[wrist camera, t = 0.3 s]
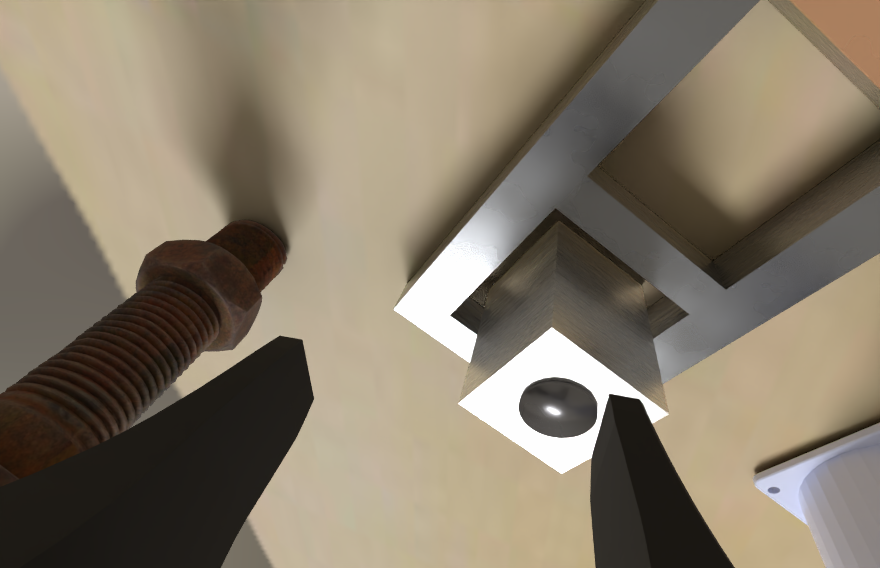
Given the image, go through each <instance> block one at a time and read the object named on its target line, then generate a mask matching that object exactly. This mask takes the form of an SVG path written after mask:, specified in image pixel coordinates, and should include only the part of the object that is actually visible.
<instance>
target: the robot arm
mask: <svg viewBox="0 0 880 568" xmlns="http://www.w3.org/2000/svg"><path fill="white" fill-rule="evenodd" d="M313 400H314V396H313V391H312V386H311V381H310V376H309V371H308V366H307V361H306V356H305V351H304V346H303V341H302V340H301V339H295V338H289V337H284V336H279V337H277V338H275V339H274V340H272V341H271V342H269V343H267V344H266V345H264V346H263V347H261V348H260V349H258V350H257V351H255V352H254V353H252V354H251V355H249V356H248V357H246V358H245V359H243V360H242V361H240V362H239V363H237V364H236V365H234V366H233V367H231V368H230V369H228V370H226V371H225V372H223V373H222V374H220V375H219V376H217V377H216V378H214V379H213V380H211V381H209V382H208V383H206V384H205V385H203V386H202V387H200V388H199V389H197V390H195V391H194V392H192V393H190V394H189V395H187V396H185V397H184V398H182V399H180V400H179V401H177V402H175V403H174V404H172V405H170V406H169V407H167V408H165V409H164V410H162V411H160V412H158V413H157V414H155V415H154V416H152V417H150V418H148V419H146V420H145V421H143V422H141V423H139V424H137V425H135V426H133V427H132V428H130V429H128V430H126V431H124V432H122V433H120V434H118V435H116V436H114V437H112V438H110V439H108V440H106V441H104V442H102V443H100V444H98V445H96V446H94V447H92V448H90V449H87V450H85V451H83V452H81V453H79V454H76V455H74V456H72V457H70V458H67V459H65V460H63V461H61V462H58V463H56V464H54V465H52V466H50V467H47V468H45V469H43V470H41V471H38V472H36V473H33V474H31V475H29V476H26V477H24V478H21V479H19V480H16V481H14V482H11V483H9V484H6V485H4V486H1V487H0V568H221V566H222V564H223V562H224V560H225V558H226V556H227V554H228V552H229V550H230V548H231V546H232V544H233V542H234V540H235V538H236V536H237V534H238V533H239V531H240V529H241V527H242V526H243V524H244V522H245V520H246V519H247V517H248V515H249V514H250V512H251V510H252V509H253V507H254V506H255V504H256V502H257V501H258V499H259V498H260V496H261V494H262V493H263V491H264V490H265V488H266V486H267V485H268V483H269V481H270V480H271V478H272V477H273V475H274V473H275V472H276V470H277V469H278V467H279V465H280V464H281V462H282V460H283V459H284V457H285V456H286V454H287V452H288V451H289V449H290V447H291V446H292V444H293V442H294V441H295V439H296V437H297V435H298V433H299V431H300V429H301V427H302V425H303V423H304V421H305V418H306V416H307V414H308V411H309V409H310V407H311V405H312V402H313ZM753 482H754V484H755V486H756V488H758V489H759V490H760V491H762V492H763V493H764V494H766V495H767V496H768V497H770V498H771V499H773V500H774V501H775V502H777V503H778V504H779V505H781V506H782V507H783V508H785V509H786V510H788V511H789V512H790V513H792V514H793V515H794V516H796V517H797V518H798V519H800V520H801V521H802V522H804V523H805V524H807V525H808V526H809V529H810V531H811V533H812V536H813V538H814V541H815V543H816V545H817V548H818V550H819V553H820V555H821V557H822V560H823V562H824V565H825V567H826V568H880V423H877V424H875V425H873V426H870V427H868V428H865V429H863V430H861V431H858V432H856V433H853V434H851V435H849V436H846V437H844V438H841V439H839V440H837V441H834V442H832V443H829V444H827V445H825V446H822V447H820V448H817V449H815V450H813V451H810V452H808V453H805V454H803V455H800V456H798V457H796V458H793V459H791V460H788V461H786V462H784V463H781V464H779V465H776V466H774V467H772V468H769V469H767V470H764V471H762V472H760V473H757V474H756V475H754V477H753ZM590 503H591V516H592V529H593V541H594V553H595V565H596V568H735V567H734V566H733V565H732V563H731V562H730V560H729V558H728V557H727V555H726V554H725V552H724V551H723V549H722V548H721V546H720V545H719V543H718V542H717V540H716V538H715V537H714V535H713V534H712V532H711V530H710V529H709V527H708V526H707V524H706V522H705V521H704V519H703V517H702V516H701V514H700V512H699V511H698V509H697V507H696V506H695V504H694V502H693V501H692V499H691V497H690V495H689V493H688V492H687V490H686V488H685V486H684V485H683V483H682V481H681V479H680V477H679V476H678V474H677V472H676V470H675V468H674V466H673V465H672V463H671V461H670V459H669V457H668V455H667V453H666V451H665V449H664V447H663V445H662V443H661V441H660V439H659V437H658V435H657V433H656V431H655V429H654V427H653V425H652V422H651V420H650V418H649V416H648V414H647V411H646V409H645V407H644V404H643V403H642V402H641V400H640V399H638V398H632V397H626V396H621V395H615V394H609V396H608V400H607V403H606V406H605V410H604V413H603V417H602V420H601V424H600V427H599V431H598V434H597V438H596V441H595V445H594V448H593V452H592V460H591V493H590Z"/></svg>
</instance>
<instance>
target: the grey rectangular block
mask: <svg viewBox="0 0 880 568" xmlns="http://www.w3.org/2000/svg"><path fill="white" fill-rule="evenodd" d="M609 394H615V395H621V396H626V397H632V398H638V399H640V400H641V402H642V403H643V404H644V407H645V409H646V411H647V414H648V416H649V418H650V420H651V422H652V423H654V422H656V421H658V420H659V419H661V418H663V417H665V416H667V415H668V414H669V412H668V407H667V403H666V398H665V393H664V388H663V384H662V379H661V374H660V369H659V364H658V360H657V355H656V350H655V345H654V341H653V336H652V331H651V326H650V322H649V317H648V312H647V307H646V302H645V298H644V293H643V288H642V285H641V284H640V283H638V282H637V281H636V280H635V279H633V278H632V277H631V276H630V275H628V274H627V273H626V272H624V271H623V270H622V269H621V268H619V267H618V266H617V265H616V264H614V263H613V262H612V261H611V260H609V259H608V258H607V257H605V256H604V255H603V254H602V253H600V252H599V251H598V250H597V249H595V248H594V247H593V246H592V245H590V244H589V243H588V242H586V241H585V240H584V239H583V238H581V237H580V236H579V235H578V234H576V233H575V232H574V231H573V230H571V229H570V228H569V227H567V226H566V225H565V224H564V223H562V222H561V221H560V220H558V221H557V222H556V223H555V224H554V225H553V226H552V227H551V228H550V229H549V230H548V231H547V232H546V233H545V234H544V235H543V236H542V237H541V238H540V239H539V240H538V241H537V242H536V243H535V244H534V245H533V246H532V247H531V248H530V249H529V250H528V251H527V252H526V253H525V254H524V255H523V256H522V257H521V258H520V259H519V260H518V261H517V262H516V263H515V264H514V265H513V266H512V267H511V268H510V269H509V270H508V271H507V272H506V273H505V274H504V275H503V276H502V277H501V278H500V279H498V280H497V281H496V282H495V283H494V284H493V285H492V286H491V287H490V288H489V292H488V296H487V300H486V303H485V307H484V311H483V315H482V318H481V322H480V326H479V330H478V333H477V337H476V341H475V345H474V348H473V352H472V356H471V360H470V363H469V367H468V371H467V375H466V378H465V382H464V386H463V390H462V393H461V397H460V401H459V404H460V405H462V406H463V407H465V408H466V409H467V410H469V411H470V412H472V413H473V414H475V415H476V416H478V417H479V418H481V419H482V420H484V421H485V422H487V423H488V424H490V425H491V426H493V427H494V428H495V429H497V430H498V431H500V432H501V433H503V434H504V435H506V436H507V437H509V438H510V439H512V440H513V441H515V442H516V443H518V444H519V445H521V446H522V447H523V448H525V449H526V450H528V451H529V452H531V453H532V454H534V455H535V456H537V457H538V458H540V459H541V460H543V461H544V462H546V463H547V464H548V465H550V466H551V467H553V468H554V469H556V470H557V471H559V472H560V473H564V472H565V471H567V470H569V469H571V468H573V467H574V466H576V465H578V464H580V463H582V462H584V461H585V460H587V459H589V458H591V457H592V452H593V448H594V445H595V441H596V438H597V434H598V431H599V427H600V424H601V420H602V417H603V413H604V410H605V406H606V403H607V400H608V396H609Z"/></svg>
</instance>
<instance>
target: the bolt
mask: <svg viewBox="0 0 880 568" xmlns="http://www.w3.org/2000/svg"><path fill="white" fill-rule="evenodd" d="M286 260H287V257H286V250H285V247H284V245H283V243H282V242H281V240H280V239H279V238H278V237H277V236H276V235H275V234H274V233H273V232H271V231H270V230H269V229H268V228H266V227H265V226H263V225H261V224H259V223H257V222H254V221H249V220H239V221H234V222H231V223H230V224H228V225H227V226H225V227H224V228H223V229H221V231H219V232H218V233H216V234H215V235H214V236H212V237H211V238H210V239H208V240H207V241H200V240H176V241H166V242H164V243H163V244H161V245H160V246H158V247H157V248H155V249H154V250H152V251H151V252H149V253H148V254H146V256H145V258H144V261H143V263H142V265H141V267H140V270H139V273H138V276H137V279H136V291H137V293H135V294H134V295H133V296H131V298H129V299H127V300H126V301H125V302H124V303H123V304H121V305H119V306H118V307H117V309H114V310H113V311H112V312H110V313H109V314H108V315H107V316H105V317H103V318H102V319H101V321H98V322H96V323H95V324H94V325H93V327H91V328H89V329H87V330H86V331H85V332H84V333H83V334H81V335H80V336H78V337H77V338H76V340H75V341H73V342H72V343H70V344H69V345H68V346H66V347H65V348H64V349H63V350H61V351H60V352H59V353H58V354H56V355H54V356H53V357H51V358H49V359H48V360H47V361H45V362H44V363H42V364H40V365H39V366H38V367H37V368H35V369H33V370H32V371H30V372H29V373H28V374H27V375H26V376H24V377H23V378H22V379H20V380H19V381H18V382H17V383H16V384H14V385H12V386H11V387H9V388H7V389H6V391H5V392H3V393H1V394H0V487H1V486H4V485H6V484H9V483H11V482H14V481H16V480H19V479H21V478H24V477H26V476H29V475H31V474H33V473H36V472H38V471H41V470H43V469H45V468H47V467H50V466H52V465H54V464H56V463H58V462H61V461H63V460H65V459H67V458H70V457H72V456H74V455H76V454H79V453H81V452H83V451H85V450H87V449H90V448H92V447H94V446H96V445H98V444H100V443H102V442H104V441H106V440H108V439H110V438H112V437H114V436H116V435H118V434H120V433H122V432H124V431H126V430H128V429H129V428H130V427H131V426H132V425H133V424H134V422H135V421H136V420H138V419H139V418H140V417H141V414H142V413H144V412H145V411H147V410H148V407H149V406H151V405H152V404H153V403H154V402H155V400H156V399H157V398H158V397H160V396H161V395H162V394H163V392H164V391H165V390H167V389H168V388H169V387H170V384H172V383H174V382H175V381H176V379H177V377H179V376H181V375H182V373H183V371H184V370H186V369H188V367H189V365H190V364H192V363H193V362H194V361H195V359H196V358H198V357H199V356H200V354H201V353H202V352H204V351H225V350H233V349H234V348H235V347H236V346H237V345H238V344H239V343H240V341H241V340H242V339H243V338H244V337H245V336H246V335H247V334H248V332H249V330H250V328H251V326H252V324H253V323H254V321H255V318H256V316H257V314H258V312H259V309H260V306H261V302H262V295H261V293H260V292H261V291H262V290H263V289H265V287H266V286H267V285H268V284H269V283H270V282H271V281H272V280H273V278H275V277H276V276H277V275H278V274H279V273H280V271H281V270H282V269H283V264H285V263H286Z"/></svg>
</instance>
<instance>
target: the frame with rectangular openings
mask: <svg viewBox="0 0 880 568" xmlns="http://www.w3.org/2000/svg"><path fill="white" fill-rule="evenodd" d="M759 1H760V0H646V1H645V2H644V3H643V4H642V5H641V7H640V8H639V9H638V10H637V11H636V13H635V14H634V15H633V16H632V17H631V19H630V20H629V21H628V22H627V23H626V24H625V26H624V27H623V28H622V29H621V30H620V32H619V33H618V34H617V35H616V36H615V38H614V39H613V40H612V41H611V42H610V43H609V45H608V46H607V47H606V48H605V49H604V51H603V52H602V53H601V54H600V55H599V57H598V58H597V59H596V60H595V61H594V62H593V64H592V65H591V66H590V67H589V68H588V70H587V71H586V72H585V73H584V74H583V76H582V77H581V78H580V79H579V80H578V81H577V83H576V84H575V85H574V86H573V87H572V89H571V90H570V91H569V92H568V93H567V95H566V96H565V97H564V98H563V99H562V100H561V102H560V103H559V104H558V105H557V106H556V108H555V109H554V110H553V111H552V112H551V114H550V115H549V116H548V117H547V118H546V119H545V121H544V122H543V123H542V124H541V125H540V127H539V128H538V129H537V130H536V131H535V133H534V134H533V135H532V136H531V137H530V138H529V140H528V141H527V142H526V143H525V144H524V146H523V147H522V148H521V149H520V150H519V152H518V153H517V154H516V155H515V156H514V157H513V159H512V160H511V161H510V162H509V163H508V165H507V166H506V167H505V168H504V169H503V171H502V172H501V173H500V174H499V175H498V176H497V178H496V179H495V180H494V181H493V182H492V184H491V185H490V186H489V187H488V188H487V190H486V191H485V192H484V193H483V194H482V195H481V197H480V198H479V199H478V200H477V201H476V203H475V204H474V205H473V206H472V207H471V209H470V210H469V211H468V212H467V213H466V214H465V216H464V217H463V218H462V219H461V220H460V222H459V223H458V224H457V225H456V226H455V228H454V229H453V230H452V231H451V232H450V233H449V235H448V236H447V237H446V238H445V239H444V241H443V242H442V243H441V244H440V245H439V247H438V248H437V249H436V250H435V251H434V252H433V254H432V255H431V256H430V257H429V258H428V260H427V261H426V262H425V263H424V264H423V266H422V267H421V268H420V269H419V270H418V271H417V273H416V274H415V275H414V276H413V277H412V279H411V280H410V281H409V282H408V283H407V285H406V286H405V288H404V290H403V292H402V294H401V296H400V298H399V300H398V302H397V303H396V305H395V307H394V310H395V311H397V312H398V313H400V314H401V315H402V316H404V317H405V318H407V319H408V320H410V321H411V322H412V323H414V324H415V325H417V326H418V327H420V328H421V329H422V330H424V331H425V332H427V333H428V334H430V335H431V336H432V337H434V338H435V339H437V340H438V341H440V342H441V343H442V344H444V345H445V346H447V347H448V348H450V349H451V350H452V351H454V352H455V353H457V354H458V355H460V356H461V357H462V358H464V359H465V360H467V361H468V362H470V360H471V356H472V352H473V348H474V345H475V341H476V337H477V333H478V330H479V326H480V322H481V318H482V315H483V311H484V308H483V307H482V306H481V305H479V304H478V303H476V302H475V301H474V300H472V299H471V298H470V297H468V296H469V295H470V294H471V293H472V292H473V291H474V290H475V289H476V288H477V287H478V286H479V285H480V284H481V283H482V282H483V281H484V280H485V279H486V278H487V277H488V276H489V275H490V274H491V273H492V272H493V271H494V270H495V269H496V268H497V267H498V266H499V265H500V264H501V263H502V262H503V261H504V260H505V259H506V258H507V257H508V256H509V255H510V254H511V253H512V252H513V251H514V250H515V249H516V248H517V247H518V246H519V244H520V243H521V242H522V241H523V240H524V239H525V238H526V237H527V236H528V235H529V234H530V233H531V232H532V231H533V230H534V229H535V228H536V227H537V226H538V225H539V224H540V223H541V222H542V221H543V220H544V219H545V218H546V217H547V216H548V215H549V214H550V213H551V212H552V211H553V210H554V209H555V208H556V209H557V210H559V211H560V212H561V213H562V214H564V215H565V216H566V217H567V218H569V219H570V220H571V221H572V222H574V223H575V224H576V225H577V226H579V227H580V228H581V229H582V230H584V231H585V232H586V233H588V234H589V235H590V236H591V237H593V238H594V239H595V240H596V241H598V242H599V243H600V244H601V245H603V246H604V247H605V248H606V249H608V250H609V251H610V252H611V253H613V254H614V255H615V256H617V257H618V258H619V259H620V260H622V261H623V262H624V263H625V264H627V265H628V266H629V267H630V268H632V269H633V270H634V271H635V272H637V273H638V274H639V275H640V276H642V277H643V278H644V279H646V280H647V281H648V282H649V283H651V284H652V285H653V286H654V287H656V288H657V289H658V290H659V291H661V292H662V293H663V294H664V295H666V296H664V297H663V298H662V299H660V300H659V301H657V302H656V303H655V304H653V305H652V306H651V307H649V308H648V309H647V312H648V317H649V322H650V326H651V331H652V336H653V341H654V345H655V350H656V355H657V360H658V364H659V369H660V374H661V379H662V384H663V383H665V382H667V381H668V380H670V379H672V378H673V377H675V376H677V375H678V374H680V373H682V372H683V371H685V370H687V369H688V368H690V367H692V366H693V365H695V364H697V363H698V362H700V361H702V360H703V359H705V358H707V357H708V356H710V355H712V354H713V353H715V352H717V351H718V350H720V349H722V348H723V347H725V346H726V345H728V344H730V343H731V342H733V341H735V340H736V339H738V338H740V337H741V336H743V335H745V334H746V333H748V332H750V331H751V330H753V329H755V328H756V327H758V326H760V325H761V324H763V323H765V322H766V321H768V320H770V319H771V318H773V317H775V316H776V315H778V314H780V313H781V312H783V311H785V310H786V309H788V308H790V307H791V306H793V305H794V304H796V303H798V302H799V301H801V300H803V299H804V298H806V297H808V296H809V295H811V294H813V293H814V292H816V291H818V290H819V289H821V288H823V287H824V286H826V285H828V284H829V283H831V282H833V281H834V280H836V279H838V278H839V277H841V276H843V275H844V274H846V273H848V272H849V271H851V270H853V269H854V268H856V267H858V266H859V265H861V264H862V263H864V262H866V261H867V260H869V259H871V258H872V257H874V256H876V255H877V254H879V253H880V140H879V141H877V142H876V143H874V144H873V145H872V146H870V147H869V148H868V149H866V150H865V151H863V152H862V153H861V154H859V155H858V156H857V157H855V158H854V159H852V160H851V161H850V162H848V163H847V164H846V165H844V166H843V167H841V168H840V169H839V170H837V171H836V172H835V173H833V174H832V175H830V176H829V177H828V178H826V179H825V180H824V181H822V182H821V183H819V184H818V185H817V186H815V187H814V188H813V189H811V190H810V191H808V192H807V193H806V194H804V195H803V196H802V197H800V198H799V199H798V200H796V201H795V202H793V203H792V204H791V205H789V206H788V207H787V208H785V209H784V210H782V211H781V212H780V213H778V214H777V215H776V216H774V217H773V218H771V219H770V220H769V221H767V222H766V223H765V224H763V225H762V226H760V227H759V228H758V229H756V230H755V231H754V232H752V233H751V234H749V235H748V236H747V237H745V238H744V239H743V240H741V241H740V242H738V243H737V244H736V245H734V246H733V247H732V248H730V249H729V250H727V251H726V252H725V253H723V254H722V255H721V256H719V257H718V258H716V259H715V260H714V261H712V260H710V259H709V258H708V257H707V256H706V255H704V254H703V253H702V252H701V251H699V250H698V249H697V248H696V247H695V246H693V245H692V244H691V243H690V242H689V241H687V240H686V239H685V238H684V237H683V236H681V235H680V234H679V233H678V232H676V231H675V230H674V229H673V228H672V227H670V226H669V225H668V224H667V223H666V222H664V221H663V220H662V219H661V218H660V217H658V216H657V215H656V214H655V213H654V212H652V211H651V210H650V209H649V208H647V207H646V206H645V205H644V204H643V203H641V202H640V201H639V200H638V199H637V198H635V197H634V196H633V195H632V194H631V193H629V192H628V191H627V190H626V189H624V188H623V187H622V186H621V185H620V184H618V183H617V182H616V181H615V180H614V179H612V178H611V177H610V176H609V175H608V174H606V173H605V172H604V171H603V170H601V169H600V168H599V167H598V166H597V165H598V164H599V163H600V162H601V161H602V160H603V159H604V158H605V157H606V156H607V155H608V154H609V153H610V152H611V151H612V150H613V149H614V148H615V147H616V146H617V145H618V144H619V143H620V142H621V141H622V140H623V139H624V138H625V137H626V136H627V135H628V134H629V133H630V132H631V131H632V130H633V129H634V128H635V127H636V126H637V125H638V124H639V123H640V122H641V121H642V120H643V119H644V118H645V117H646V116H647V114H648V113H649V112H650V111H651V110H652V109H653V108H654V107H655V106H656V105H657V104H658V103H659V102H660V101H661V100H662V99H663V98H664V97H665V96H666V95H667V94H668V93H669V92H670V91H671V90H672V89H673V88H674V87H675V86H676V85H677V84H678V83H679V82H680V81H681V80H682V79H683V78H684V77H685V76H686V75H687V74H688V73H689V72H690V71H691V70H692V69H693V68H694V67H695V66H696V65H697V64H698V63H699V62H700V61H701V60H702V59H703V58H704V57H705V56H706V55H707V54H708V53H709V52H710V51H711V49H712V48H713V47H714V46H715V45H716V44H717V43H718V42H719V41H720V40H721V39H722V38H723V37H724V36H725V35H726V34H727V33H728V32H729V31H730V30H731V29H732V28H733V27H734V26H735V25H736V24H737V23H738V22H739V21H740V20H741V19H742V18H743V17H744V16H745V15H746V14H747V13H748V12H749V11H750V10H751V9H752V8H753V7H754V6H755V5H756V4H757V3H758V2H759ZM768 1H769V2H770V3H771V4H772V5H773V6H774V7H775V8H776V9H777V10H779V11H780V12H781V13H782V14H783V15H784V16H785V17H786V18H787V19H788V20H789V21H790V22H791V23H792V24H793V25H794V26H795V27H796V28H797V29H798V30H799V31H800V32H801V33H802V34H803V35H804V36H805V37H806V38H807V39H808V40H809V41H810V42H811V43H812V44H813V45H814V46H815V47H816V48H818V49H819V50H820V51H821V52H822V53H823V54H824V55H825V56H826V57H827V58H828V59H829V60H830V61H831V62H832V63H833V64H834V65H835V66H836V67H837V68H838V69H839V70H840V71H841V72H842V73H843V74H844V75H845V76H846V77H847V78H848V79H849V80H850V81H851V82H852V83H853V84H854V85H856V86H857V87H858V88H859V89H860V90H861V91H862V92H863V93H864V94H865V95H866V96H867V97H868V98H869V99H870V100H871V101H872V102H873V103H874V104H875V105H876V106H877V107H878V108H879V109H880V0H768Z"/></svg>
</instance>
